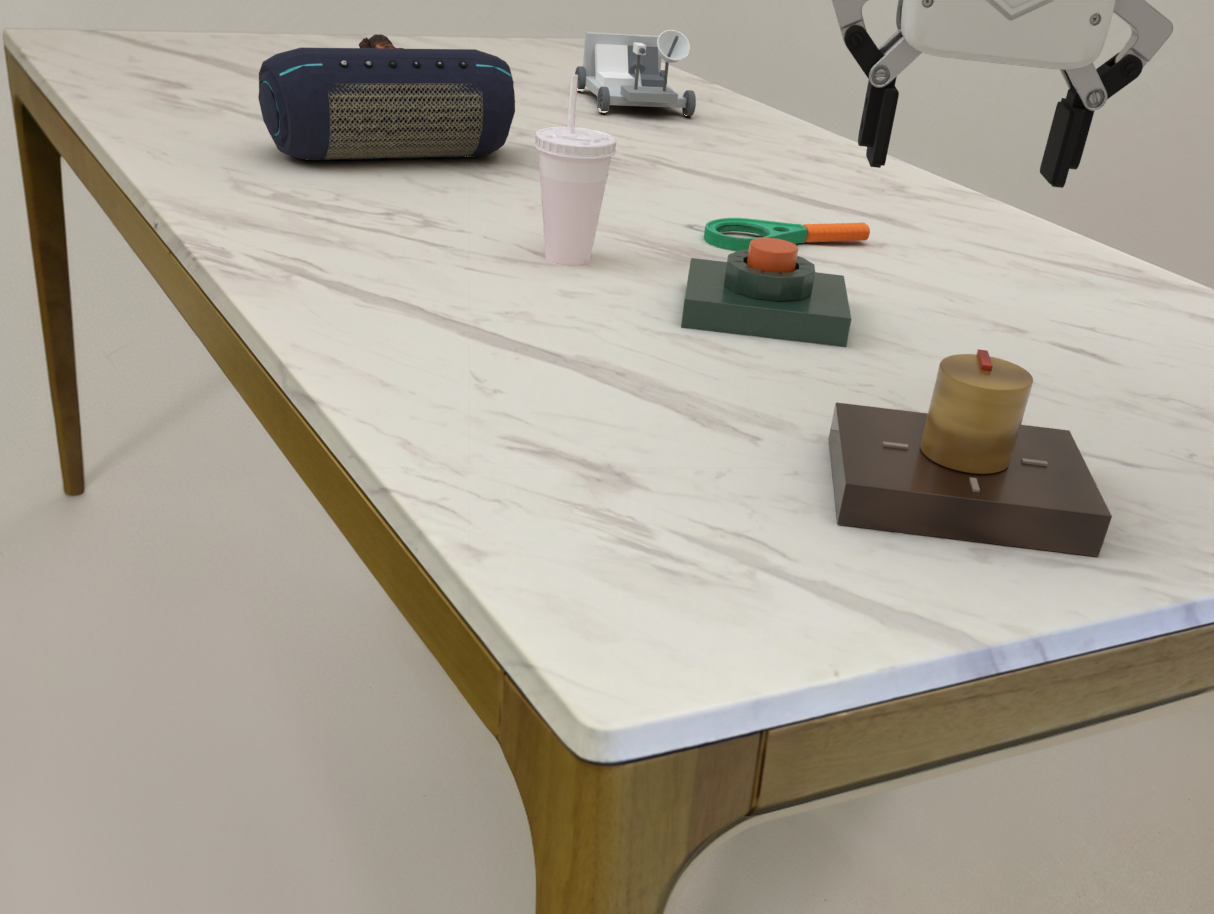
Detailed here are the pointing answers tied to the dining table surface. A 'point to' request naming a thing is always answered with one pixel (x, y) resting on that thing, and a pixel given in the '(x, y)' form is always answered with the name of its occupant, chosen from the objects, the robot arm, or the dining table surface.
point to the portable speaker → (386, 102)
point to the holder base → (963, 486)
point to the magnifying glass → (780, 232)
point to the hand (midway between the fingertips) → (962, 171)
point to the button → (772, 255)
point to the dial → (976, 413)
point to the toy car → (634, 70)
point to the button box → (767, 301)
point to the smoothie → (572, 185)
